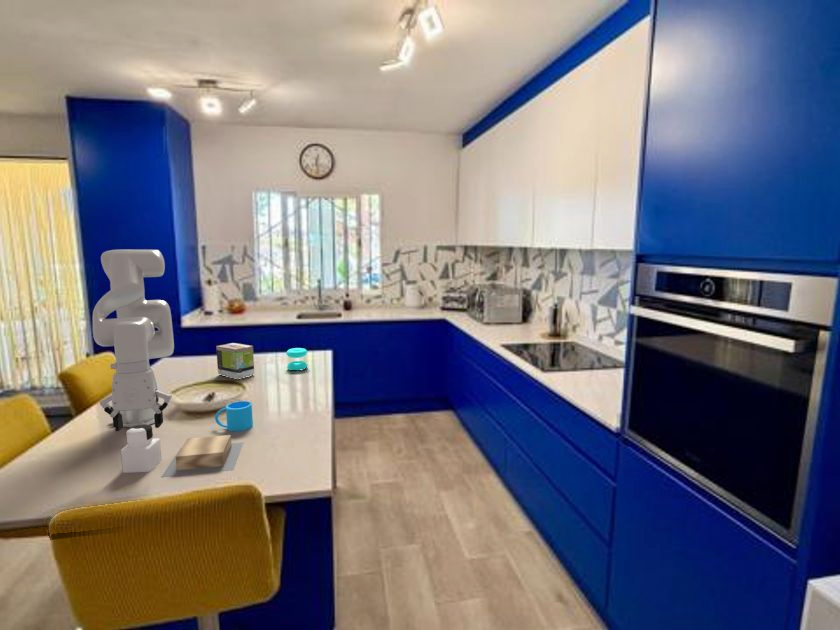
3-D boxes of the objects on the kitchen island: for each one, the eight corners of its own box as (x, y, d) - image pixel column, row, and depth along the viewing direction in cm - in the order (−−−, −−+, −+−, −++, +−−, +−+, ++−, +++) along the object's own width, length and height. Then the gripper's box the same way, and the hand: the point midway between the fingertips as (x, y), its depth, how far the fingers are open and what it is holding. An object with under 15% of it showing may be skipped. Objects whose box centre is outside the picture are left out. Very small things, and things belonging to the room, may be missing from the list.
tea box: (255, 375, 216) (253, 345, 214) (237, 380, 208) (235, 349, 206) (235, 371, 224) (233, 341, 222) (217, 376, 216) (215, 345, 214)
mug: (255, 422, 159) (253, 400, 157) (250, 432, 151) (249, 408, 149) (219, 424, 157) (217, 402, 156) (212, 434, 149) (210, 410, 148)
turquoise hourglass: (289, 347, 232) (309, 347, 231) (290, 366, 233) (309, 366, 233) (283, 351, 222) (303, 352, 222) (284, 371, 223) (304, 371, 223)
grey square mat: (161, 479, 120) (161, 477, 120) (180, 449, 137) (180, 447, 137) (233, 471, 124) (233, 469, 124) (243, 444, 141) (243, 442, 141)
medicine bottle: (136, 462, 129) (132, 422, 128) (162, 461, 130) (159, 421, 128) (122, 474, 122) (118, 432, 121) (150, 473, 123) (146, 431, 121)
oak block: (176, 470, 123) (175, 456, 123) (188, 451, 135) (187, 438, 134) (223, 465, 126) (223, 452, 125) (231, 447, 138) (230, 434, 137)
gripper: (90, 372, 116) (97, 436, 118) (164, 368, 120) (169, 430, 122) (103, 365, 123) (109, 426, 126) (172, 361, 127) (177, 420, 129)
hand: (139, 427), depth 124 cm, fingers open, 9 cm apart
